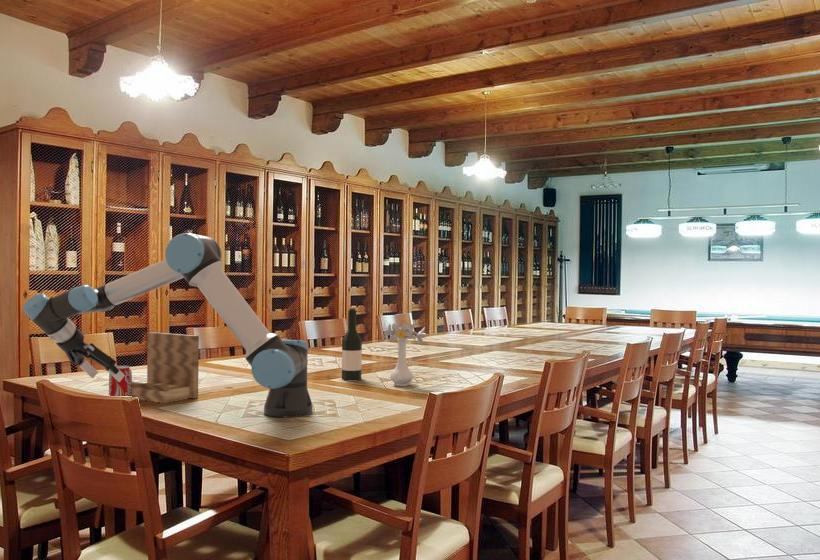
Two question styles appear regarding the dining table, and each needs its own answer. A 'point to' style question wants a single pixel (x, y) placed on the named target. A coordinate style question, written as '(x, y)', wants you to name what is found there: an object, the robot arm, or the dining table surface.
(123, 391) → the soda can
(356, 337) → the wine bottle
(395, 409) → the dining table surface
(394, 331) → the flower vase
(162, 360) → the cleat board
